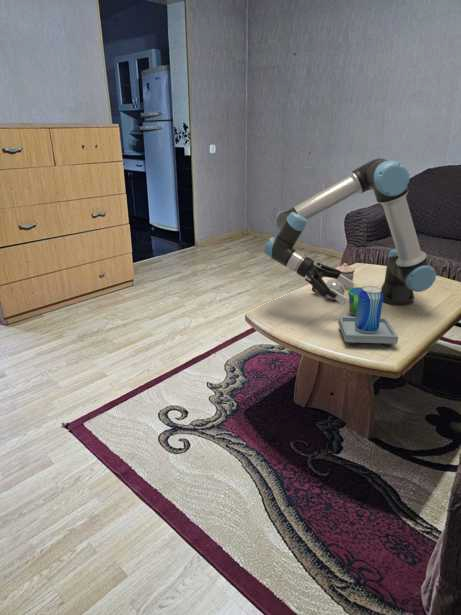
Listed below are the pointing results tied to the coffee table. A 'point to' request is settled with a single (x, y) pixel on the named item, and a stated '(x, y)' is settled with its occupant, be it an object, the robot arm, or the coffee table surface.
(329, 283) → the potion bottle
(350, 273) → the teacup with lid
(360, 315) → the beer can
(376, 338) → the grey rimmed tray
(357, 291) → the snack cup
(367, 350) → the coffee table surface
